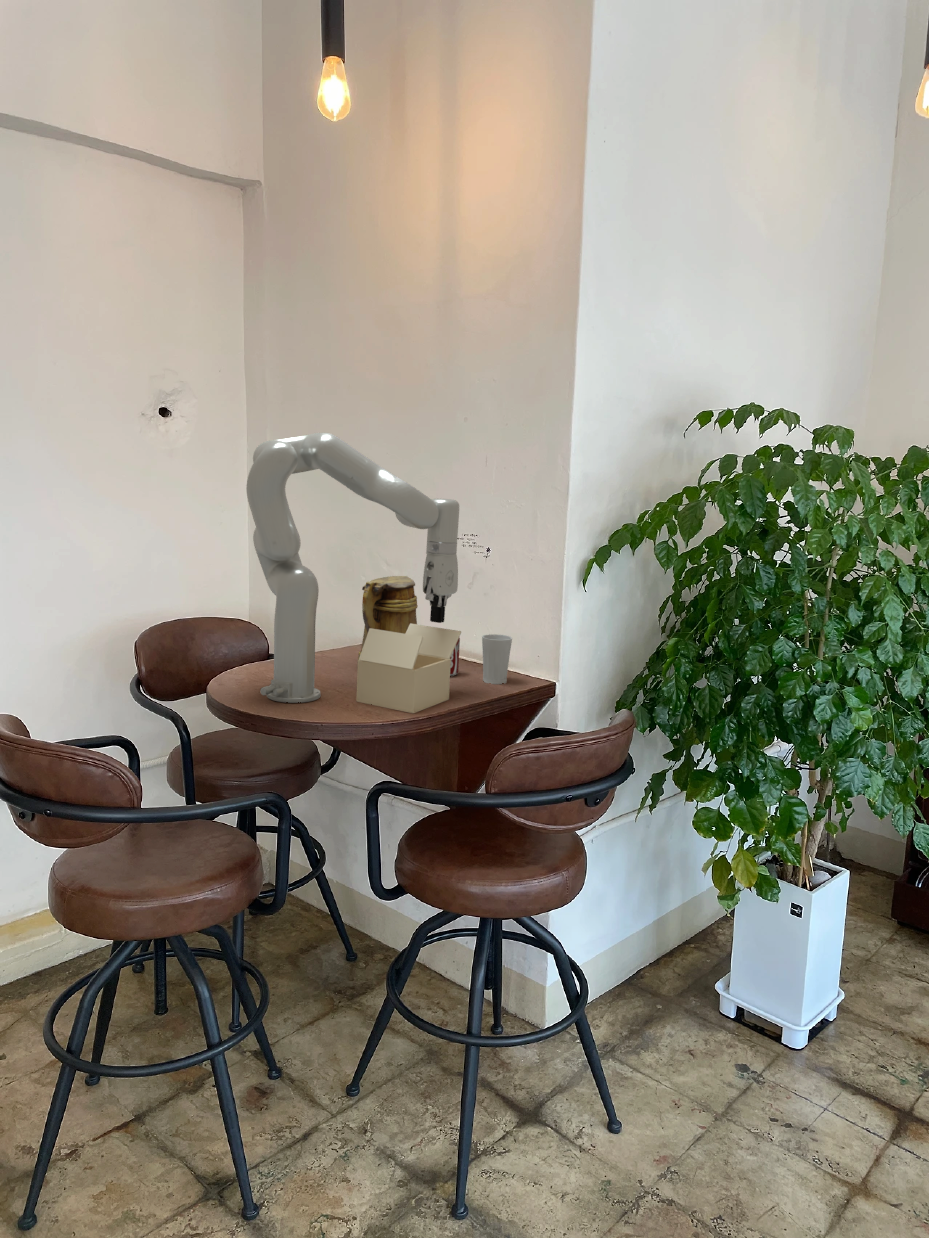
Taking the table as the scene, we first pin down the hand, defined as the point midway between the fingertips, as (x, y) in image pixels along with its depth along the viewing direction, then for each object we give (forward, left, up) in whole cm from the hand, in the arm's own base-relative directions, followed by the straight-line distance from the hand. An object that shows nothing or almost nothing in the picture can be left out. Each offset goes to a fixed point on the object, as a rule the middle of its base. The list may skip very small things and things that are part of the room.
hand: (437, 621), depth 225 cm
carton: (-15, 0, -17) cm, 23 cm away
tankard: (+11, +23, -18) cm, 31 cm away
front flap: (-21, 0, -4) cm, 21 cm away
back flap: (-4, 0, -4) cm, 6 cm away
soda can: (+15, +6, -18) cm, 24 cm away
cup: (+17, -8, -18) cm, 26 cm away
